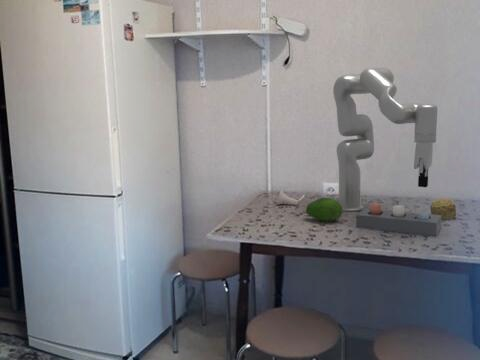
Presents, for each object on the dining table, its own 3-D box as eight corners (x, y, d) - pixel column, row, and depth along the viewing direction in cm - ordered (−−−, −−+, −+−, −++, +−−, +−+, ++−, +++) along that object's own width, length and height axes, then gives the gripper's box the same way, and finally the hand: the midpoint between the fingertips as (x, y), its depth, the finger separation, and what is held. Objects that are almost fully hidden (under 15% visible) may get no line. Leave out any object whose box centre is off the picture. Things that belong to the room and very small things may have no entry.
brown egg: (368, 217, 196) (368, 205, 195) (371, 214, 199) (371, 202, 198) (379, 218, 193) (379, 206, 192) (382, 215, 197) (382, 203, 196)
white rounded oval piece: (391, 219, 191) (391, 207, 190) (394, 216, 195) (394, 204, 194) (402, 220, 189) (403, 208, 188) (405, 218, 192) (405, 205, 192)
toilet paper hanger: (296, 212, 231) (300, 197, 230) (275, 206, 234) (279, 191, 232) (304, 204, 254) (308, 189, 252) (285, 198, 256) (289, 184, 254)
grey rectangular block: (356, 227, 195) (356, 214, 194) (365, 219, 205) (365, 208, 204) (436, 236, 180) (436, 223, 179) (441, 227, 190) (442, 215, 189)
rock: (452, 229, 199) (466, 208, 198) (427, 215, 200) (440, 194, 199) (446, 224, 209) (459, 204, 207) (422, 211, 210) (435, 191, 208)
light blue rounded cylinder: (415, 227, 187) (415, 214, 186) (417, 224, 190) (417, 212, 190) (427, 228, 185) (427, 216, 184) (429, 226, 188) (429, 213, 187)
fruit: (303, 222, 205) (302, 199, 203) (310, 216, 214) (309, 194, 212) (339, 225, 198) (339, 201, 197) (344, 219, 207) (344, 196, 205)
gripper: (418, 135, 190) (416, 182, 193) (410, 140, 177) (408, 189, 181) (439, 136, 186) (436, 183, 189) (432, 140, 173) (429, 191, 177)
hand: (422, 186), depth 185 cm, fingers closed
